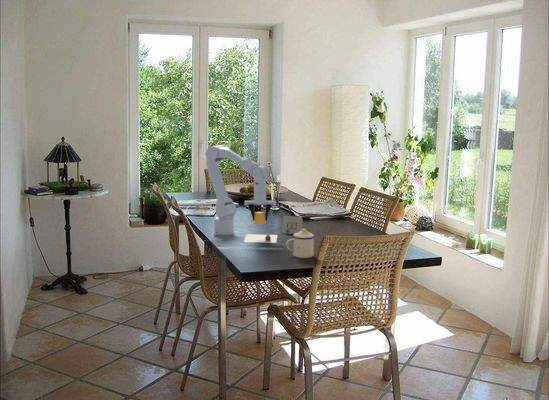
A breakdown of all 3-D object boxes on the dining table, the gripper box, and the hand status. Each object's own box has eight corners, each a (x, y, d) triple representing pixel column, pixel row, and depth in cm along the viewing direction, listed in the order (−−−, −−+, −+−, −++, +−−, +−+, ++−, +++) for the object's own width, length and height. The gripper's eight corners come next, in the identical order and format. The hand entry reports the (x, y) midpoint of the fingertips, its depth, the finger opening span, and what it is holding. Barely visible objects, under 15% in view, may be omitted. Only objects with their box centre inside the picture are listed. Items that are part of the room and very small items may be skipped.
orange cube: (254, 224, 280) (254, 213, 279) (254, 222, 285) (254, 211, 284) (265, 224, 279) (265, 213, 279) (265, 222, 285) (265, 211, 284)
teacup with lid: (312, 252, 261) (312, 226, 259) (315, 258, 252) (316, 231, 251) (284, 253, 260) (285, 226, 258) (287, 258, 251) (287, 231, 249)
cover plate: (243, 244, 275) (243, 235, 275) (246, 236, 291) (246, 228, 290) (276, 244, 275) (276, 236, 274) (277, 236, 290) (277, 228, 290)
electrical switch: (282, 235, 294) (282, 216, 293) (284, 233, 299) (284, 215, 299) (301, 236, 292) (301, 217, 292) (302, 235, 297) (303, 216, 297)
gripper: (243, 192, 276) (243, 221, 278) (275, 193, 275) (275, 222, 278) (245, 190, 283) (245, 218, 285) (275, 190, 282) (275, 219, 285)
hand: (260, 220), depth 282 cm, fingers closed on orange cube, 5 cm apart
